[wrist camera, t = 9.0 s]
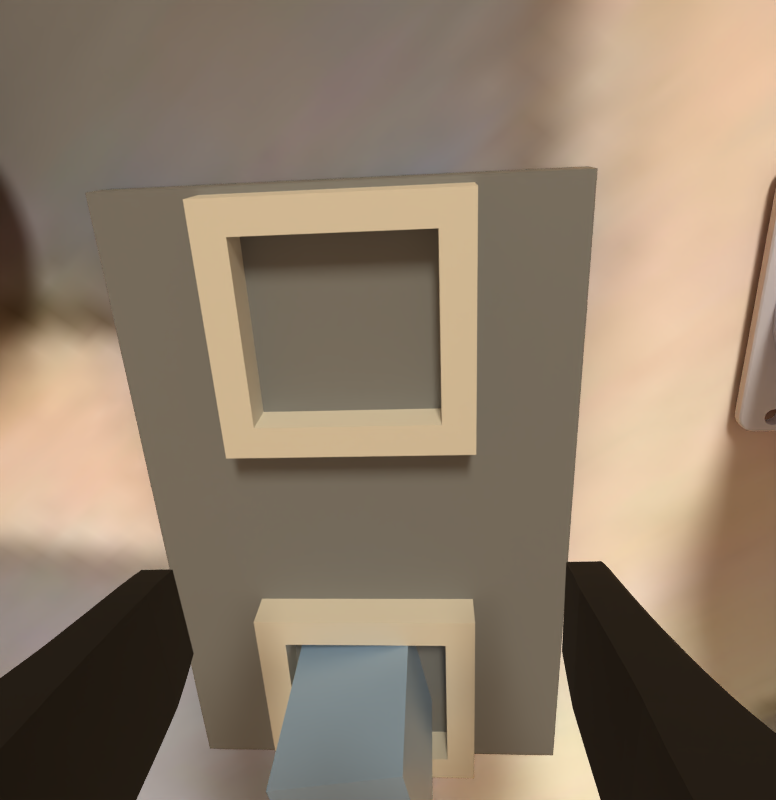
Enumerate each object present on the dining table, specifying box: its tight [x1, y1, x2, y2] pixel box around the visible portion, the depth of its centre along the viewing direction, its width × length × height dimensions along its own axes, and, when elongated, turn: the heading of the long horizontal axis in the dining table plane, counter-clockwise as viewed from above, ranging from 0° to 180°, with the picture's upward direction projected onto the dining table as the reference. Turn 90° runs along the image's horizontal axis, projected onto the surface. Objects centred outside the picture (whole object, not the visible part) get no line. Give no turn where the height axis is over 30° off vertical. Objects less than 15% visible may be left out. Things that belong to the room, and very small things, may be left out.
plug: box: [266, 645, 433, 800], centre depth 21 cm, size 4×4×7 cm
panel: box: [86, 167, 597, 778], centre depth 21 cm, size 14×22×2 cm, turn 3°
